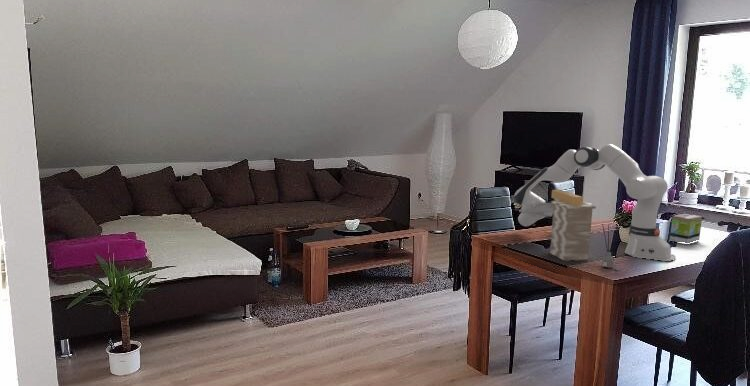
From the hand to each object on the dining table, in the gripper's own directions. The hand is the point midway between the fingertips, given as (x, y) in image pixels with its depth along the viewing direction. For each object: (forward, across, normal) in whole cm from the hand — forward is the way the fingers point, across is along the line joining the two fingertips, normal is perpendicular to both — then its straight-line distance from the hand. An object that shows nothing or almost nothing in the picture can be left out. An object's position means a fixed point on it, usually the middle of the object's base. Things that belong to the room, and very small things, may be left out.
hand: (547, 202), depth 290 cm
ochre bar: (+18, 0, +6) cm, 19 cm away
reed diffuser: (+27, +9, +42) cm, 51 cm away
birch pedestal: (+10, 0, +32) cm, 33 cm away
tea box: (-9, +82, +21) cm, 85 cm away
